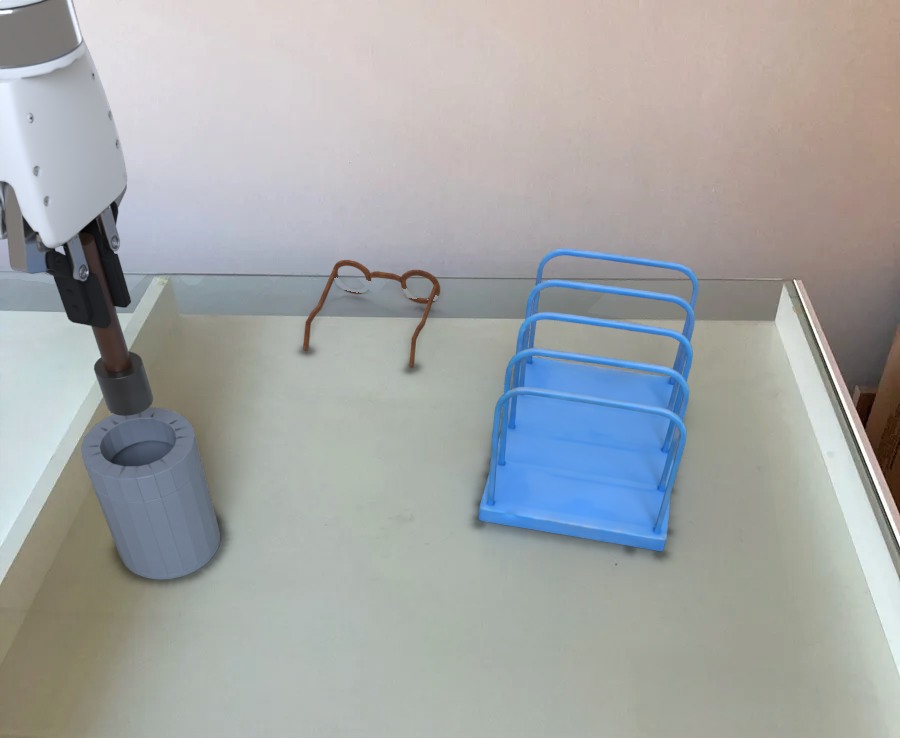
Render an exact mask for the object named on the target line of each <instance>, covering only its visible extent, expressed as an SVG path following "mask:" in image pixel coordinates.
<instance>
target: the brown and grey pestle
mask: <svg viewBox="0 0 900 738" xmlns="http://www.w3.org/2000/svg"><path fill="white" fill-rule="evenodd" d="M78 236H79V239H80V242H81V245H82V248H83V252H84V255H85V258H86V261H87V265H88V268H89V273H94V274H97V276H98V279H99V282H100V285H101V288H102V292H103V295H104V298H105V301H106V304H107V308H108V311H109V314H110V317H111V324H110V325H109V326H108V327H107V328H106V329H104V328H99V327H94V326H90V328H91V330H92V333H93V336H94V339H95V343H96V345H97V348H98V351H99V354H100V358H98V359H97V360H96V361H95V363H94V365H93V371H94V374H95V377H96V379H97V383H98V386H99V388H100V391H101V392H100V393H101V395H102V397H103V400H104V403H105V406H106V408H107V410H108V411H109V412H110V413H111V414H112V415H113V414H116V415H121V416H129V415H135V414H138V413H141V412H143V411H145V410H146V409H147V408H149V407H151V405H152V404H153V402H154V396H153V392H152V389H151V385H150V381H149V378H148V375H147V372H146V368H145V365H144V361H143V358H142V357H141V356H140V355H139V354H138V353H136V352H133V351H130V350H129V349H128V345H127V343H126V338H125V336H124V333H123V329H122V326H121V322H120V318H119V316H118V312H117V309H116V306H114V302H113V299H112V296H111V292H110V289H109V286H108V282H107V279H106V276H105V273H104V269H103V266H102V263H101V259H100V256H99V253H98V249H97V246H96V243H95V239H94V237H93V236H92V235H91V234H89V233H78Z"/></svg>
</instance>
